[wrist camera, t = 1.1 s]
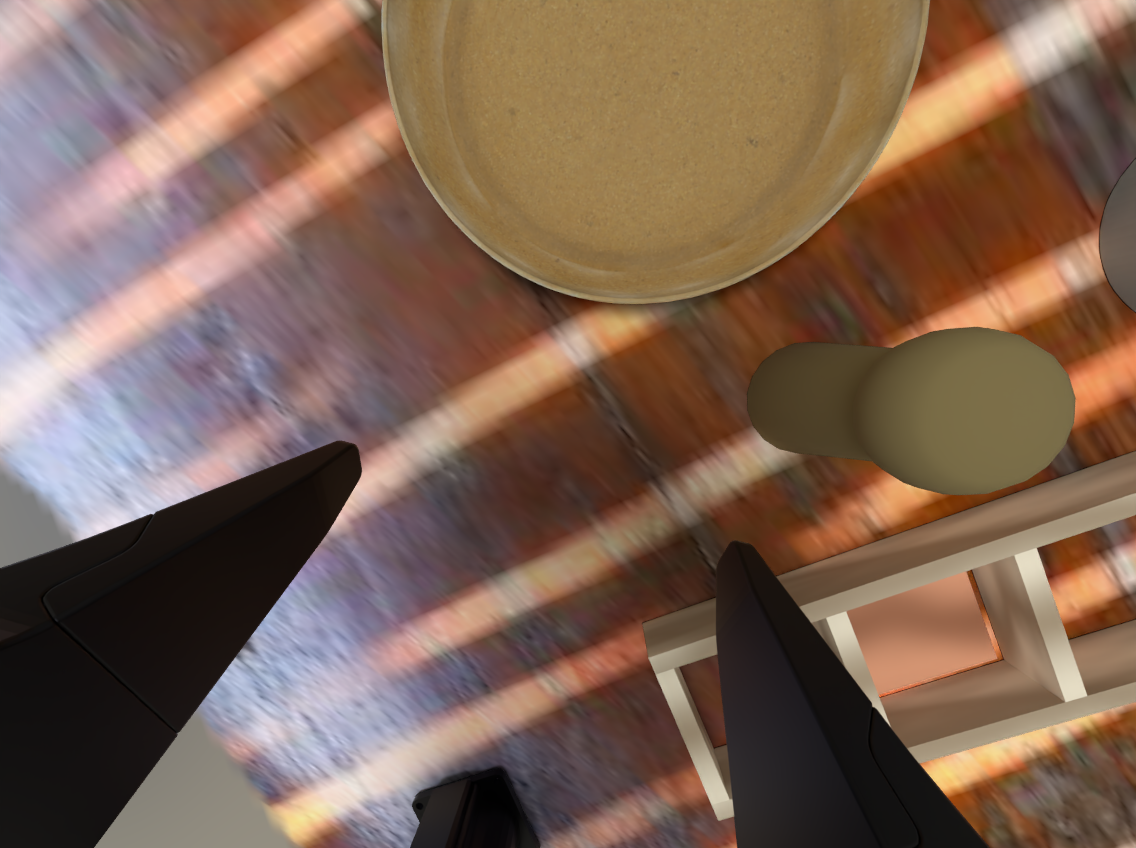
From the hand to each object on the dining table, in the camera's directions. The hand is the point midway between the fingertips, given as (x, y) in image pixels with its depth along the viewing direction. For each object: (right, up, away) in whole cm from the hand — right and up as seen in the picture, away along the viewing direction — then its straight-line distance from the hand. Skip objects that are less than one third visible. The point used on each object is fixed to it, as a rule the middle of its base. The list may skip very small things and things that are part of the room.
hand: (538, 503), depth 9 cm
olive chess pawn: (+14, +3, +13) cm, 19 cm away
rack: (+20, -9, +13) cm, 26 cm away
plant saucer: (+4, +20, +12) cm, 24 cm away
